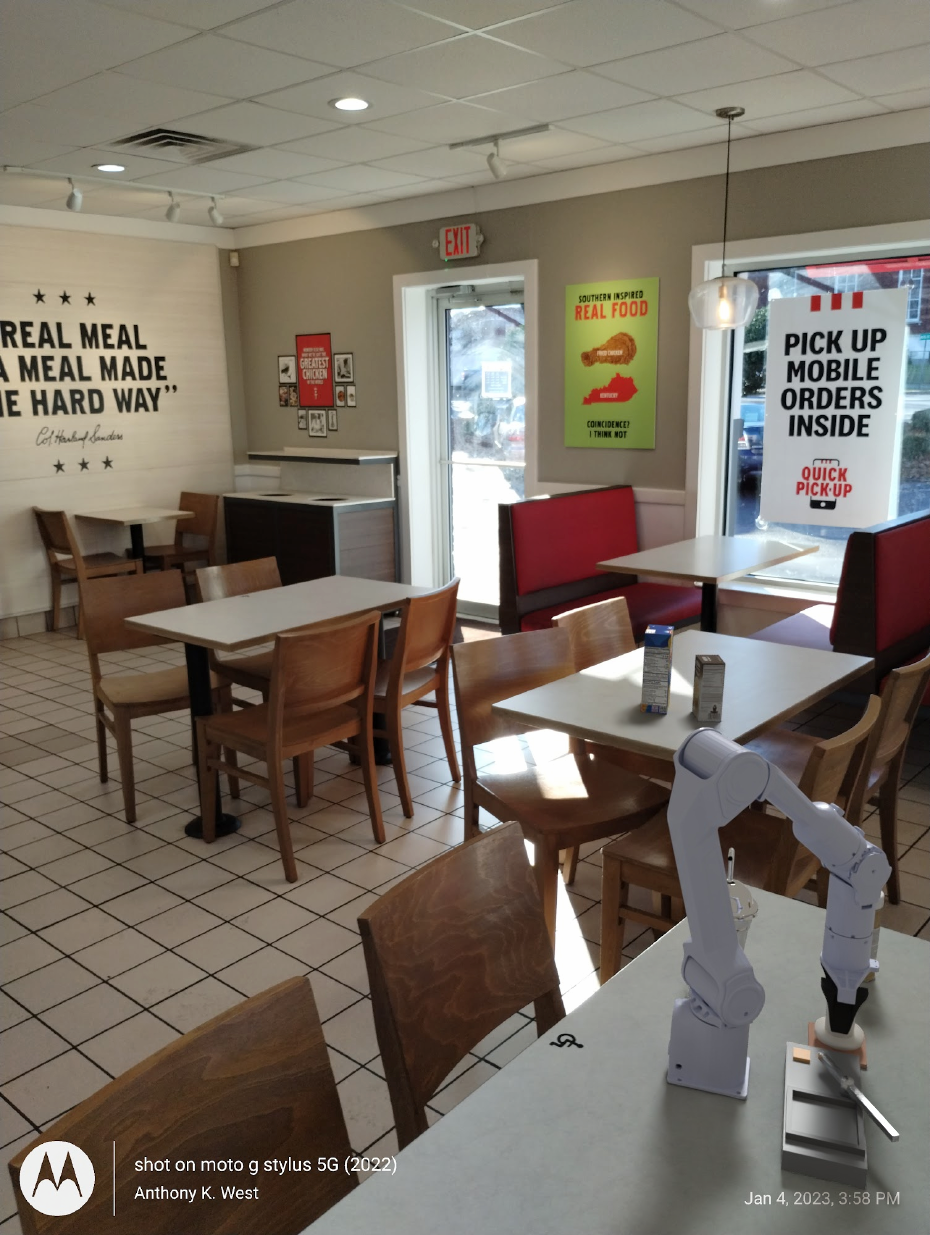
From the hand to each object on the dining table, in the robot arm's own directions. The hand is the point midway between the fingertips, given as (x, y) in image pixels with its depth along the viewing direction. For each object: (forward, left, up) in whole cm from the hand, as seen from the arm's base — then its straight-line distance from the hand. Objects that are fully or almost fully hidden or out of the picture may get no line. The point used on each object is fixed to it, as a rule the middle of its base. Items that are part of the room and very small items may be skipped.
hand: (838, 1022), depth 130 cm
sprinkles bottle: (+4, +19, -4) cm, 20 cm away
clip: (+1, -15, -1) cm, 15 cm away
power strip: (-2, -15, -3) cm, 16 cm away
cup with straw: (-15, +14, -4) cm, 21 cm away
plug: (0, 0, -2) cm, 2 cm away
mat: (0, 0, -3) cm, 3 cm away
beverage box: (-43, +141, -4) cm, 148 cm away
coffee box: (-29, +138, -4) cm, 141 cm away
